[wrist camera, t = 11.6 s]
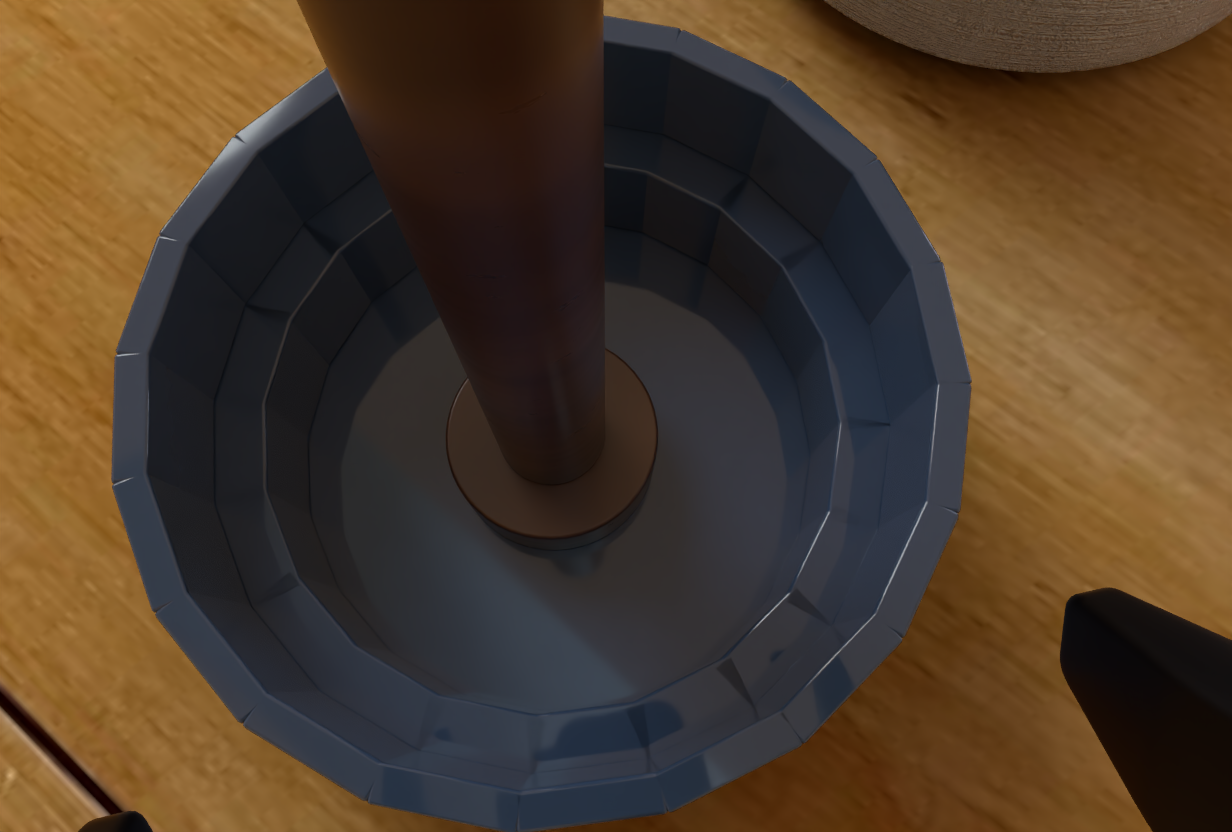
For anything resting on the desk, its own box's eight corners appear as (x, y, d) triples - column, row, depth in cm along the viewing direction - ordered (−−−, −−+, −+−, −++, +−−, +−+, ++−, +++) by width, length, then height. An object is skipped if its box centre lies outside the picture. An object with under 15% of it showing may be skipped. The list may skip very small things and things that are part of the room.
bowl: (966, 340, 22) (1094, 220, 16) (691, 921, 19) (729, 1028, 13) (458, 89, 24) (411, -100, 18) (119, 575, 20) (-74, 532, 15)
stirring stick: (689, 415, 21) (900, -270, 6) (594, 587, 20) (556, 286, 5) (520, 326, 21) (321, -504, 6) (418, 489, 20) (-106, -55, 5)
